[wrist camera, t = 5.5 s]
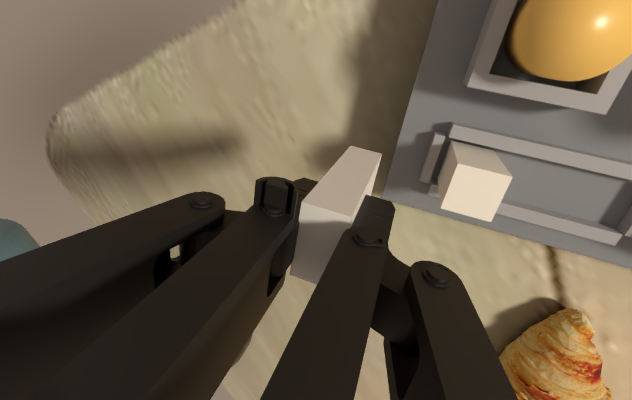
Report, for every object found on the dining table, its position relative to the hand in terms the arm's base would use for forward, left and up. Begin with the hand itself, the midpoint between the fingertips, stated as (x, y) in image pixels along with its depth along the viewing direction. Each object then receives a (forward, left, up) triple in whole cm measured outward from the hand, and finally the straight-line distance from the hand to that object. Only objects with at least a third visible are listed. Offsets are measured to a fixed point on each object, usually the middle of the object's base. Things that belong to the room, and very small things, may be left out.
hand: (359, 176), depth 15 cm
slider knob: (+6, 0, -8) cm, 9 cm away
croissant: (+20, -20, -12) cm, 31 cm away
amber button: (+7, +8, -7) cm, 13 cm away
